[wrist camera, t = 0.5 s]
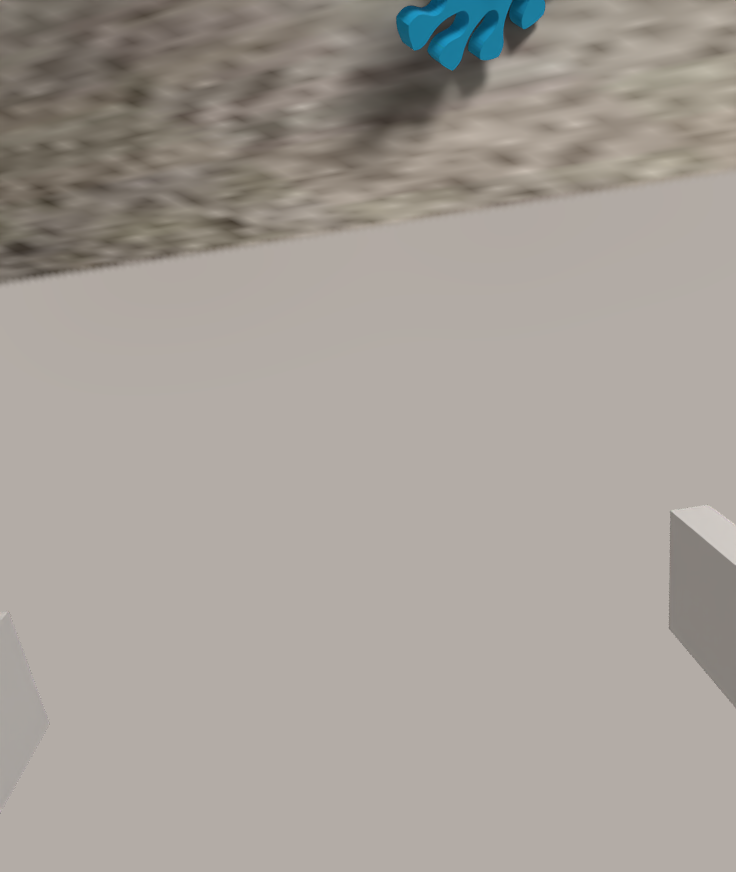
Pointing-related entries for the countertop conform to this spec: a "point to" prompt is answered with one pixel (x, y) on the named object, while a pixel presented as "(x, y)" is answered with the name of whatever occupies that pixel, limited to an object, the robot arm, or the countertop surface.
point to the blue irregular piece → (464, 26)
